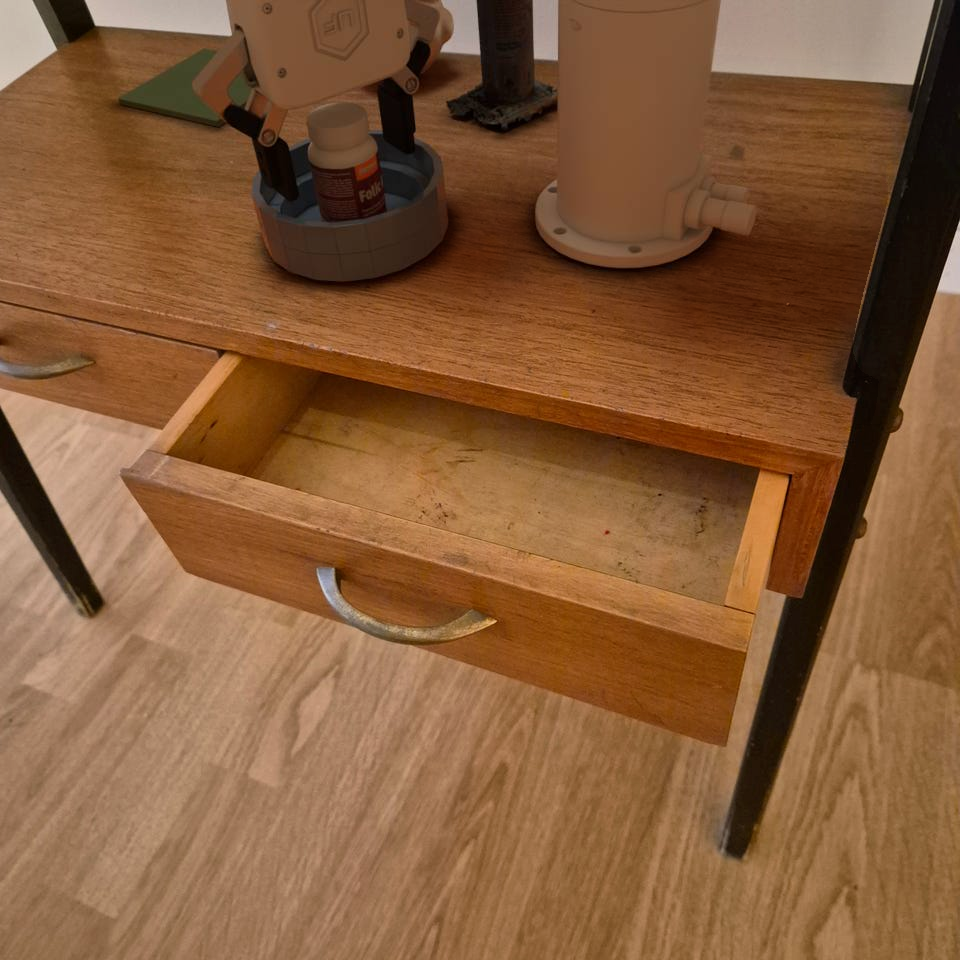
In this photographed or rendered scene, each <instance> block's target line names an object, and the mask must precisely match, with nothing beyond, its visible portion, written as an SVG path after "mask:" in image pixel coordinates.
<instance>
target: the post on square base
mask: <svg viewBox="0 0 960 960" xmlns="http://www.w3.org/2000/svg"><path fill="white" fill-rule="evenodd" d="M475 1H476V11H477V28H478V29H477V30H478V42H479V54H480V56H479V57H480V66H481V68H480V69H481V83H479V84H477V85H474V88H472V89H471V90H467V91H466V93H463V94H460V95H458V97H456V98H454V99H450V100H449V99H448V100H446V101H445V103H446V106H445V108H448V110H449V111H450V112H449V114H450V115H455V117H458V116H461V117H462V118H464V116H466V114H467V113H469V114H470V113H471V110H473V117H474V119H476V118H477V120H478V122H482V124H483V125H485V126H486V125H500V124H501V130H504V131H506V132H508V127H509V126H508V125H509V124H513V123H515V122H516V121H517V122H518V123H519V122H520V121H521V120H525V122H528V121H529V122H530V121H531V119H532V117H533V115H535V114H537V113H538V114H539V115H541V114H542V112H543V111H544V110H546V109H547V108H549V107H550V106H551V105H558V88H556V87H554V86H553V85H551V83H546V84H545V83H544V82H542V81H540V80H538V79H536V77H535V47H534V45H535V44H534V43H535V42H534V0H475Z"/></svg>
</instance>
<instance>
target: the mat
mask: <svg viewBox="0 0 960 960" xmlns="http://www.w3.org/2000/svg"><path fill="white" fill-rule="evenodd" d="M218 51H219V50H213V49H209V48H202V49H201V50H199V51H197V52H195V53H194V54H192V55H191V56H189V57H187V58H185V59H183V60H182V61H180V62H178V63H177V64H175V65H173V66H171V67H170V68H168V69H166V70H165V71H163V72H161V73H159V74H158V75H156V76H154V77H152V78H151V79H149V80H147V81H146V82H144V83H142V84H140V85H138V86H137V87H135V88H133V89H132V90H130V91H128V92H127V93H125V94H122V95H120V97H117V100H118V103H119V105H121V106H125V107H130V108H134V109H138V110H143V111H148V112H151V113H155V114H161V115H164V116H168V117H173V118H178V119H182V120H186V121H191V122H194V123H199V124H204V125H207V126H212V127H217V128H219V127H221V126H223V125H224V124H227V123H226V122H225V121H224V120H222V119H221V118H220V117H219V116H218V115H217V114H216V113H215V112H214V111H213V110H212V109H211V108H210V107H209V106H208V105H207V104H206V103H205V102H204V101H203V100H202V99H201V98H200V97H199V96H198V95H197V94H196V93H195V92H194V91H193V89H192V82H193V80H194V79H195V78H196V77H197V75H198V74H199V73H200V72H201V71H202V69H203V68H204V67H205V66H206V65H207V64H208V62H209V61H210V60H211V59H212V58H213V56H214V55H215V54H216V53H217V52H218ZM251 89H252V88H251V87H249V86H248V85H247V84H246V83H245V81H244V79H243V76H242V73H240V74H239V75H238V76H237V77H236V79H235V80H234V81H233V82H232V83H231V84H230V86H229V88H228V95H229V96H230V98H231V99H232V100H233V101H234V102H235V103H236V104H237V105H238V106H240V107H242V108H244V109H245V106H246V103H247V100H248V98H249V95H250V92H251Z"/></svg>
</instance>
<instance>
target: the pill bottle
mask: <svg viewBox="0 0 960 960" xmlns="http://www.w3.org/2000/svg"><path fill="white" fill-rule="evenodd" d="M305 123H306V127H307V134H308V139H310V141H311V143H310V145H309V148H308V160H309V164H310V169H311V173H312V178H313V182H314V187H315V191H316V196H317V201H318V205H319V211H320V215H321V220H322V222H342V221H350V220H359V219H365V218H368V217H372V216H375V215H379V214H382V213H386V212H387V208H386V201H385V195H384V187H383V181H382V175H381V168H380V160H379V153H378V147H377V144H376V141H375V140H374V138H373V137H372V136H371V135H369V130H370V123H369V119H368V113H367V110H366V109H365V107H364V106H362V105H360V104H357V103H353V102H347V101H346V102H344V101H341V102H340V101H339V102H331V103H327V104H323V105H320V106H317V107H316V108H314V109H312V110H311V111H310V112H308V114H307V116H306V120H305Z"/></svg>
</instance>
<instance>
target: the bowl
mask: <svg viewBox="0 0 960 960" xmlns="http://www.w3.org/2000/svg"><path fill="white" fill-rule="evenodd" d="M369 135H371V136H372V137H373V138H374V140H375V141H376V144H377V147H378V153H379V160H380V168H381V175H382V181H383V187H384V195H385V201H386V208H387V212H386V213H382V214H379V215H375V216H372V217H368V218H365V219H359V220H350V221H342V222H322V220H321V215H320V211H319V205H318V201H317V196H316V191H315V187H314V182H313V178H312V173H311V169H310V164H309V160H308V148H309V145H310V143H311V141H310V138H306V139H303V140H301V141H299V142H297V143H294V144H292V145H290V146H289V150H290V155H291V159H292V164H293V168H294V173H295V177H296V182H297V186H298V191H299V196H298V199H296V200H294V201H291V202H289V201H288V200H287V199H285V198H284V197H283V196H282V195H281V194H279V193H278V192H277V191H276V190H274V189H273V188H272V189H270V188H269V187H268V186H267V185H266V184H265V183H264V181H263V179H262V177H261V173H260V169H259V168H258V170H257V172H256V173H255V174H254V176H253V177H252V181H251V182H252V183H251V191H250V194H251V199H252V202H253V205H254V209H255V213H256V217H257V220H258V224H259V228H260V231H261V235H262V239H263V242H264V247H265V248H266V250H267V252H268V253H269V256H270V257H271V259H272V261H273V262H274V263H276V264H278V265H279V266H280V267H282V269H285V271H287V272H289V273H291V274H295V275H298V276H300V277H301V276H302V277H305V278H308V279H311V280H315V281H325V282H326V281H327V282H341V283H343V282H352V281H361V280H368V279H369V280H370V279H377V278H380V277H383V276H386V275H390V274H393V273H396V272H399V271H403V270H405V269H406V268H408V267H410V266H412V265H414V264H416V263H417V262H419V261H421V260H423V259H425V258H426V257H428V255H430V253H432V252H433V251H434V250H435V249H436V248H437V247H438V246H439V244H440V243H441V242H443V239H444V237H445V235H446V231H447V229H448V226H449V217H448V216H449V215H448V207H447V206H448V205H447V196H446V186H445V184H446V183H445V175H444V167H443V163H442V162H443V161H442V157H441V156H440V155H439V154H438V153H437V152H436V150H435V149H434V148H433V147H432V146H431V145H430V144H429V143H427V142H425V141H423V140H421V139H418V138H417V137H415V136H414V140H415V152H414V153H411V154H409V155H407V154H404V153H403V152H401V151H400V150H398V149H396V148H395V147H393V146H392V145H390V144H389V143H387V142H386V141H385V140H384V138H383V131H382V129H369Z"/></svg>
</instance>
